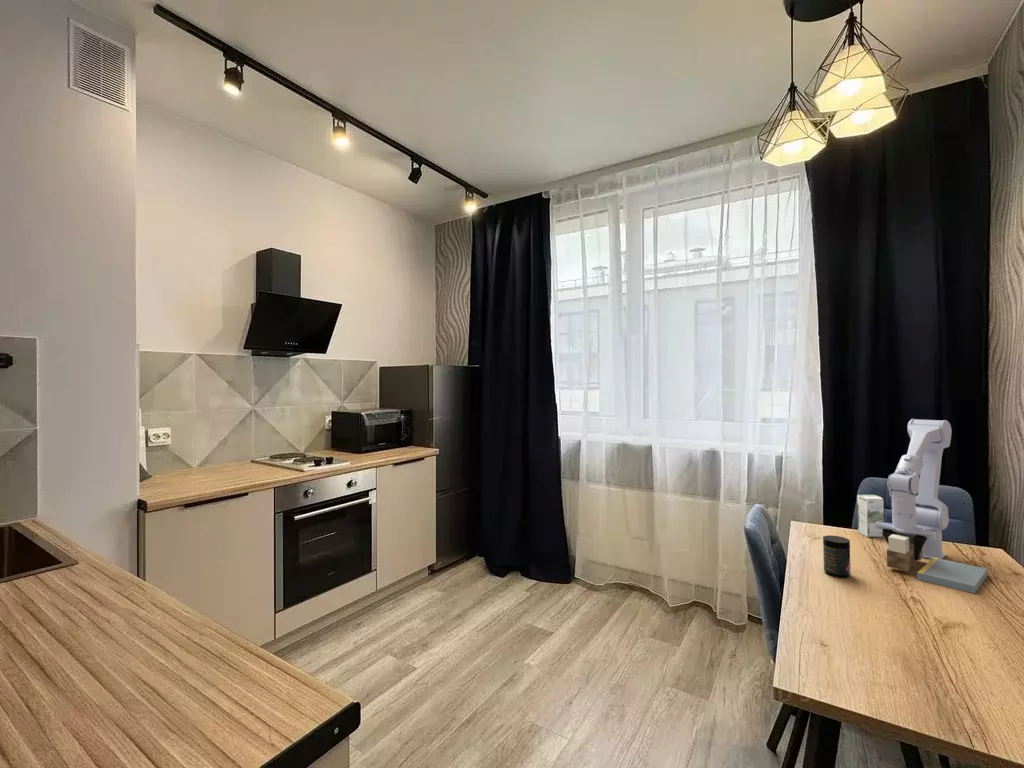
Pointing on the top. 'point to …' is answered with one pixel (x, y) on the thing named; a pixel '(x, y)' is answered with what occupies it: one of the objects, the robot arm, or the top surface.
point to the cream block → (898, 543)
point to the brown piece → (902, 558)
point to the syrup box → (870, 515)
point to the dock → (952, 574)
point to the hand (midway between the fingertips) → (905, 556)
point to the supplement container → (836, 556)
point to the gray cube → (909, 537)
